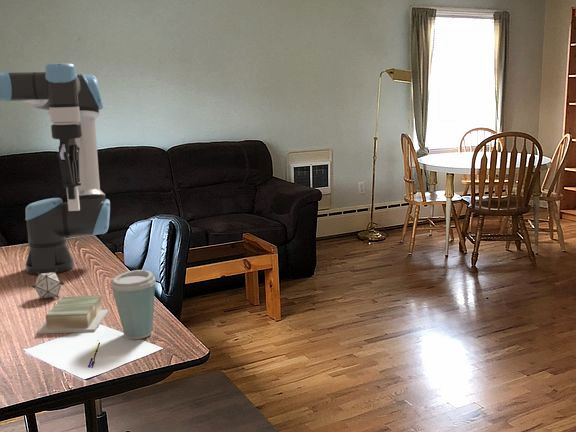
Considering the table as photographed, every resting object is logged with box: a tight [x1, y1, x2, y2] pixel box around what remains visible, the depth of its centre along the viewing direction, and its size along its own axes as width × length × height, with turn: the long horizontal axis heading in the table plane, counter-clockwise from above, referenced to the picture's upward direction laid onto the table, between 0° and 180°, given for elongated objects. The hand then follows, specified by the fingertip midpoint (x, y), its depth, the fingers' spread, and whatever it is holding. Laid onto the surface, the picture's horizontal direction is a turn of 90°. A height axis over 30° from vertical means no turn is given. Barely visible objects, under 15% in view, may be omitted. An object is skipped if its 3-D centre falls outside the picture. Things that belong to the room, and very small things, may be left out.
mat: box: [36, 308, 109, 335], centre depth 160 cm, size 14×14×1 cm
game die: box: [31, 269, 65, 302], centre depth 179 cm, size 9×8×10 cm
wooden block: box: [45, 295, 103, 329], centre depth 161 cm, size 4×10×14 cm
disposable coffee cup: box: [110, 269, 157, 340], centre depth 150 cm, size 11×11×15 cm
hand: (74, 210), depth 170 cm, fingers closed
